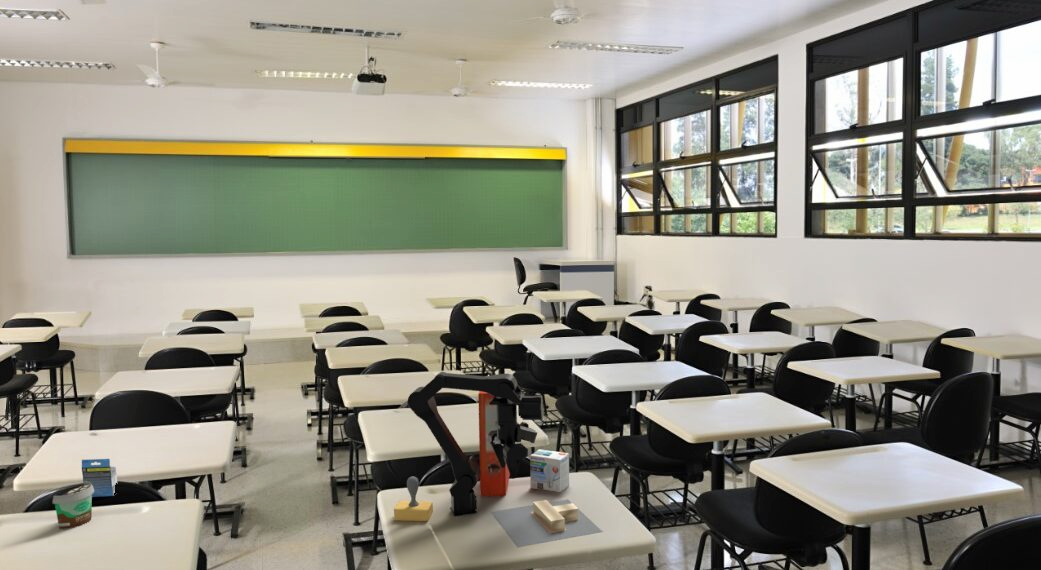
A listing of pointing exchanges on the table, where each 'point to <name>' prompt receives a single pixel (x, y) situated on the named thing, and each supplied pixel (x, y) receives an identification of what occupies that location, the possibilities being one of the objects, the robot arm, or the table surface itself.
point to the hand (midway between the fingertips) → (508, 472)
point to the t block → (555, 514)
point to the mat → (540, 525)
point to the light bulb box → (549, 470)
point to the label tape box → (100, 476)
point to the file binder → (490, 451)
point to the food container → (74, 506)
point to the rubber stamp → (413, 505)
